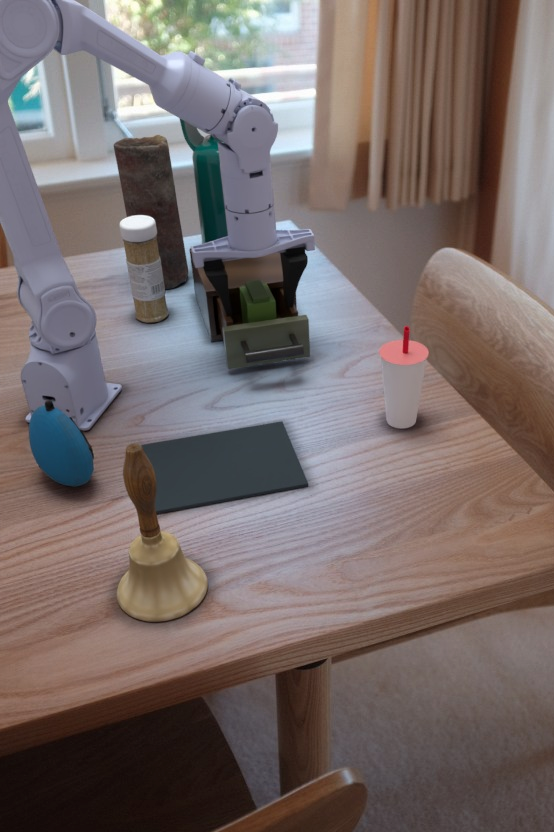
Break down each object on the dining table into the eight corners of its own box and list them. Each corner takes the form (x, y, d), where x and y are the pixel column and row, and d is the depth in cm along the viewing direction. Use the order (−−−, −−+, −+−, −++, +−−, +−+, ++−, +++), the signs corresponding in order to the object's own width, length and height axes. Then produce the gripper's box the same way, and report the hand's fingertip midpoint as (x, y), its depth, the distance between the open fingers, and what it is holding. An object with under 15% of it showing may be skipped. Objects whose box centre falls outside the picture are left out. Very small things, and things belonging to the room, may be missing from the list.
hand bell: (100, 611, 81) (63, 469, 71) (142, 551, 87) (114, 412, 77) (185, 631, 79) (159, 488, 69) (222, 568, 85) (203, 428, 75)
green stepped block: (278, 343, 114) (275, 296, 110) (250, 347, 113) (246, 300, 109) (269, 325, 117) (266, 278, 113) (243, 329, 117) (238, 282, 112)
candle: (127, 286, 131) (102, 144, 118) (150, 265, 136) (128, 127, 123) (176, 293, 129) (156, 149, 116) (197, 271, 134) (180, 131, 122)
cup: (427, 432, 102) (433, 337, 94) (379, 434, 102) (381, 339, 94) (421, 406, 106) (426, 313, 98) (376, 408, 106) (377, 315, 98)
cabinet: (297, 329, 121) (295, 279, 116) (211, 341, 118) (205, 291, 114) (275, 285, 131) (272, 237, 126) (195, 296, 128) (189, 248, 124)
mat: (308, 486, 95) (308, 483, 94) (155, 514, 91) (154, 511, 91) (282, 424, 104) (282, 421, 103) (141, 447, 100) (141, 444, 100)
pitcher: (267, 245, 141) (258, 95, 127) (256, 268, 135) (244, 113, 121) (206, 242, 142) (190, 93, 128) (192, 265, 136) (173, 111, 122)
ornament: (112, 483, 95) (95, 403, 89) (78, 506, 93) (58, 425, 86) (61, 455, 99) (41, 377, 93) (27, 476, 96) (3, 396, 90)
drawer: (318, 374, 110) (317, 335, 107) (234, 387, 108) (230, 348, 105) (287, 311, 122) (285, 275, 119) (210, 322, 120) (206, 285, 117)
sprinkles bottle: (158, 305, 126) (143, 210, 118) (175, 317, 124) (161, 221, 115) (129, 315, 124) (112, 219, 115) (145, 327, 121) (129, 230, 113)
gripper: (302, 183, 108) (308, 287, 117) (181, 199, 106) (197, 305, 114) (317, 205, 103) (322, 312, 112) (190, 223, 100) (206, 331, 109)
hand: (259, 310), depth 113 cm, fingers open, 7 cm apart
